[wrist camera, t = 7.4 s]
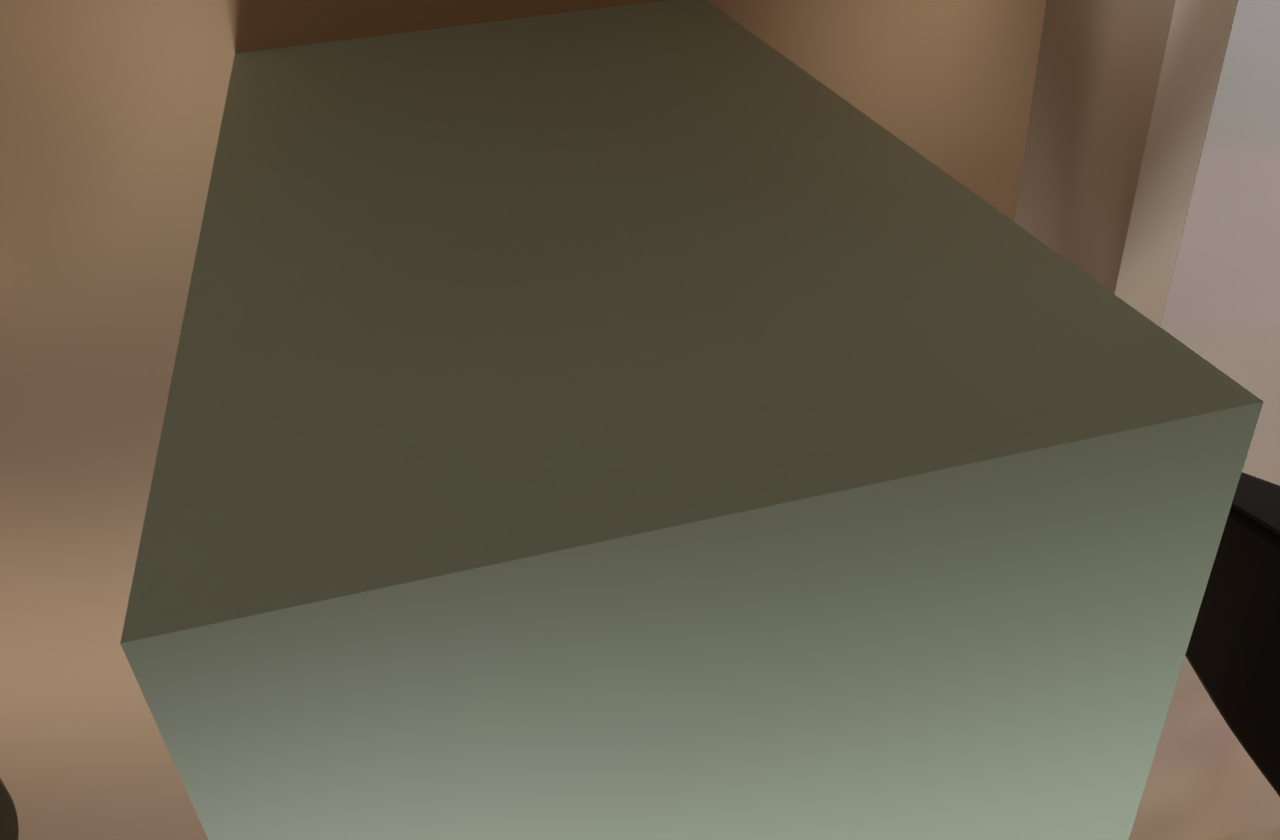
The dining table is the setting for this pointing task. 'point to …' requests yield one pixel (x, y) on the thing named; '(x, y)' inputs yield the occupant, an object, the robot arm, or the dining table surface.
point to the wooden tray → (397, 3)
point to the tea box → (653, 464)
